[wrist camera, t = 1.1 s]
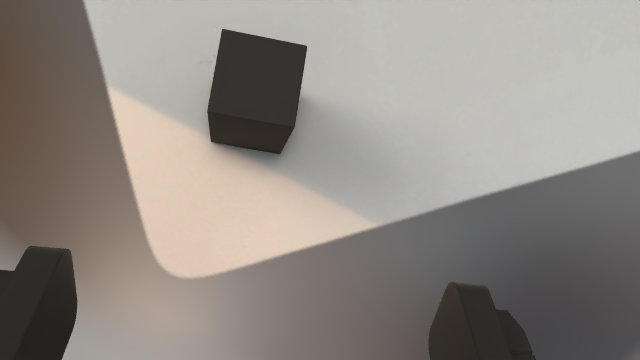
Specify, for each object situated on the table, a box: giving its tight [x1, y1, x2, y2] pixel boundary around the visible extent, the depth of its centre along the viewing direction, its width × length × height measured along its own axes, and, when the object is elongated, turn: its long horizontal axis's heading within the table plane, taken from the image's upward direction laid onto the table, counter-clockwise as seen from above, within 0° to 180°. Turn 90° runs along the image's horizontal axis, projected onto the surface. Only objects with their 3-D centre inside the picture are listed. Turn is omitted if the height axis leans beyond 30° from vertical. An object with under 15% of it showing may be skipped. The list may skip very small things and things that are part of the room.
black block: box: [207, 29, 307, 154], centre depth 34 cm, size 4×4×8 cm
